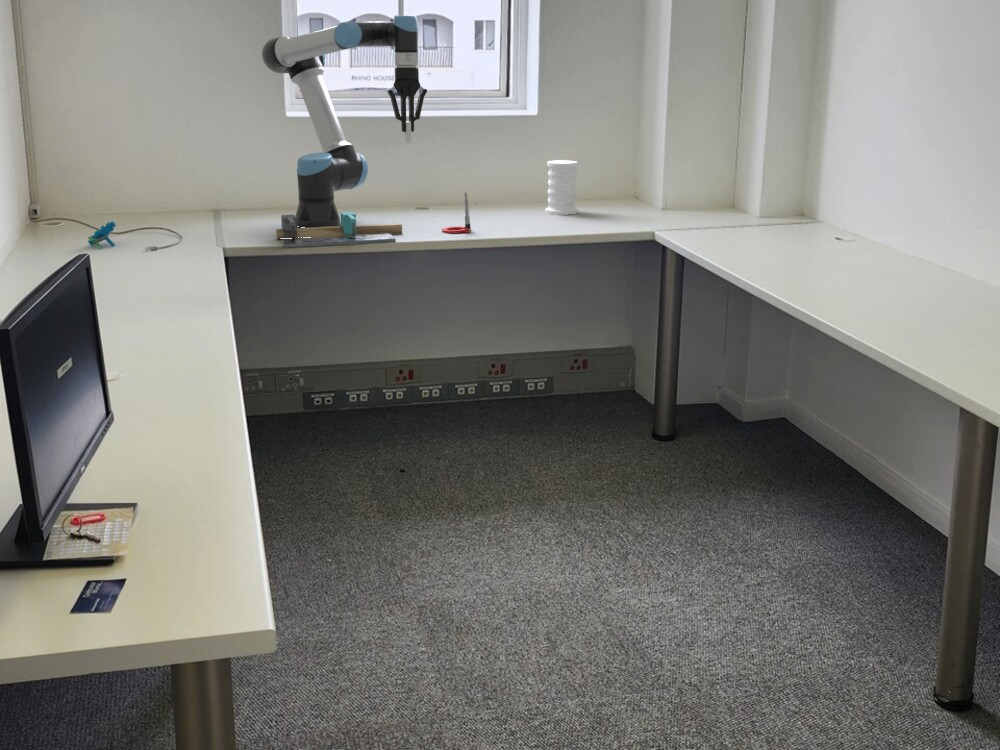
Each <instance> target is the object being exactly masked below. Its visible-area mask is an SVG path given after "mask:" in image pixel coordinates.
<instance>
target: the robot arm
mask: <svg viewBox="0 0 1000 750" xmlns="http://www.w3.org/2000/svg"><path fill="white" fill-rule="evenodd" d="M363 47H364V48H365V47H366V48H367V47H368V48H371V47H393V49H394V53H393V54H394V65H395V67H394V83H393V86H392V87H390V88H388V89H386V92H387V94H388V96H389V97H390V101H391V105H392V109H393V113H394V117H395V119H396V120H398V121H400V122H401V131H402V133H404V142H405V143H406V144H407V143H408V144H409V143H410V144H411V143H412V133H413V132H414V131H415V121H417V120H420V118H421V113H422V108H423V104H424V99H425V96H426V94H427V93H428V90H427V88H424V87H423V86H421V83H420V76H419V75H420V73H419V71H420V70H419V67H418V65H419V24H418V18H417V16H415V15H414V14H413V15H410V14H407V15H405V14H404V15H397V14H396V15H394V16H393V20H392V21H379V20H377V21H376V20H375V21H374V20H373V21H351V20H350V21H343V22H339V23H338V24H337V25H335V26H331V27H328V28H324V29H321V30H315V31H312V32H309V33H305V34H301V35H297V36H291V37H289V36H281V37H274V38H273V37H272V38H271V39H269V40H267V42H265V44H264V45H263V47H262V51H261V57H262V61H263V63H264V65H265V66H266V67H267V68H268V70H270V71H272V72H274V73H277V74H288V75H289V78H290V79H291V82H292V83H293V84H295V85H297V86H298V88H299V91H300V94H301V97H302V99H303V101H304V105H305V108H306V109H307V113H308V115H309V118H310V121H311V123H312V126H313V128H314V130H315V131H314V132H315V133H316V136H317V139H318V141H319V143H320V146H321V149H322V151H321V152H316V153H309V154H306V155H302V156H300V157H299V158H298V160H297V163H296V166H297V167H296V168H297V169H296V175H297V188H298V189H297V191H298V205H297V210H296V213H295V216H296V224H297V226H299V227H305V228H312V227H332V226H338V225H339V226H341V216H340V213H339V211H338V209H337V207H336V206H337V205H336V203H335V194H334V193H335V192H336V191H337V192H338V191H344V190H352V189H354V188H355V189H356V188H358V187H360V186H362V185H363V184H364V183H365V181H366V179H367V175H369V174H368V172H369V168H368V167H369V166H368V161H367V159H366V158H365V156H364V155H362V154H361V153H359V152H356V150H355V147H354V145H353V144H352V143H350V142H349V141H348V142H347V138H346V137H345V134H344V131H343V129H342V127H341V126H342V125H341V123H340V120H339V118H338V116H337V112H336V110H335V108H334V105H333V102H332V100H331V96H330V94H329V92H328V89H327V87H326V85H325V81H324V79H323V75H324V73H325V69H324V66H325V64H326V61H325V59H326V55H328V54H332V53H336V52H341V51H344V50H350V49H355V48H363ZM396 92H397V94H398V95H399V96H400V98H399V99H400V109H399V105H398V101H397V97H396ZM417 92H418V93H419V94H418V98H417V102H416V106H415V95H416V94H417ZM407 101H408V121H407ZM415 107H416V108H415ZM299 227H298V228H299Z"/></svg>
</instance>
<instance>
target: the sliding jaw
mask: <svg viewBox="0 0 1000 750" xmlns="http://www.w3.org/2000/svg"><path fill="white" fill-rule="evenodd" d="M356 225H357V214H356V213H355V212H354V211H341V212H340V226H343V234H352V235H353V237H356Z"/></svg>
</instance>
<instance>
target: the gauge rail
mask: <svg viewBox="0 0 1000 750" xmlns="http://www.w3.org/2000/svg"><path fill="white" fill-rule="evenodd" d="M280 216H281V218H280V219H281V228H276V229H275V233H276V234H275V235H276V240H277V239H280V238H292V240H295V238H298V237H299V238H301V237H302V238H303V237H330V236H349V235H352V234H343V226H341V225H339V226H332V227H312V228H299V227H297V224H296V214H281V215H280ZM388 233H390V234H391V235H397V234H399V235H400V233H402V234H403V224H402V223H401V222H399V223H393V222H392V223H379V224H378V223H377V224H376V223H374V224H356V235H368V234H388Z"/></svg>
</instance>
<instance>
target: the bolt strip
mask: <svg viewBox="0 0 1000 750" xmlns="http://www.w3.org/2000/svg"><path fill="white" fill-rule="evenodd" d="M282 241H283V243H284V244H285V246H284V247H285V248H286V249H288V248H306V247H324V246H340V245H360V244H377V243H379V244H380V243H396V241H397V240H396V237H395V236H393V234H390V233H388V234H368V235H356V237H353V235H349V236H330V237H311V238H295V240H292V239H282V240H281V242H282ZM283 243H282V244H283ZM284 244H283V245H284Z"/></svg>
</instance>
